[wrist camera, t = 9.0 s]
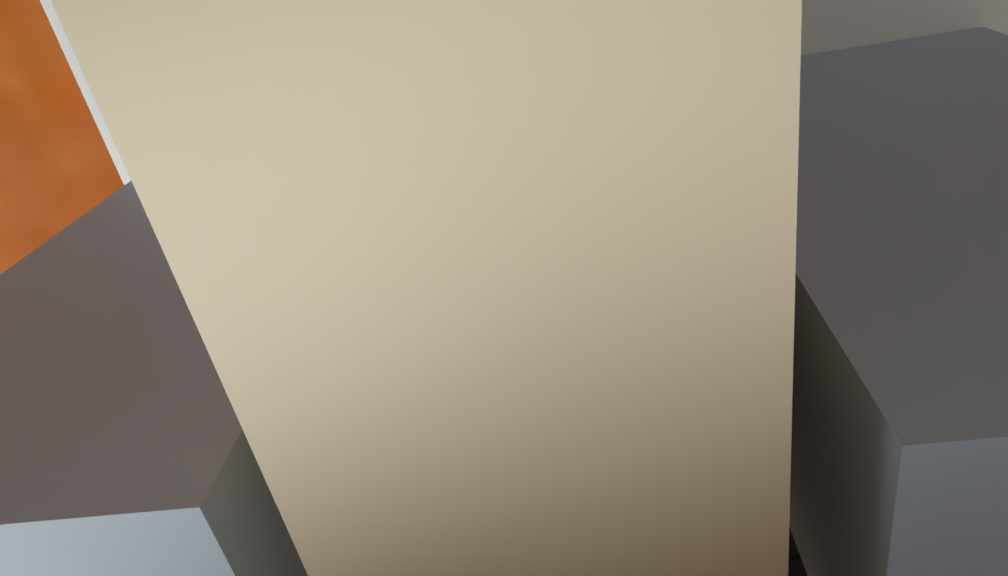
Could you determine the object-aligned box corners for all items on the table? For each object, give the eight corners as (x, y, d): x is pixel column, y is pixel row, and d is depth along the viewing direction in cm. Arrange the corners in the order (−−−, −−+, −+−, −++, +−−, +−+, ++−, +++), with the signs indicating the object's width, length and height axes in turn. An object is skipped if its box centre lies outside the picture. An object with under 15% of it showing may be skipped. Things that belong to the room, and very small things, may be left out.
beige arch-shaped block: (372, -283, 10) (-385, -968, 2) (596, -335, 9) (837, -1498, 1) (532, 483, 16) (514, 1037, 9) (666, 471, 16) (776, 1041, 8)
